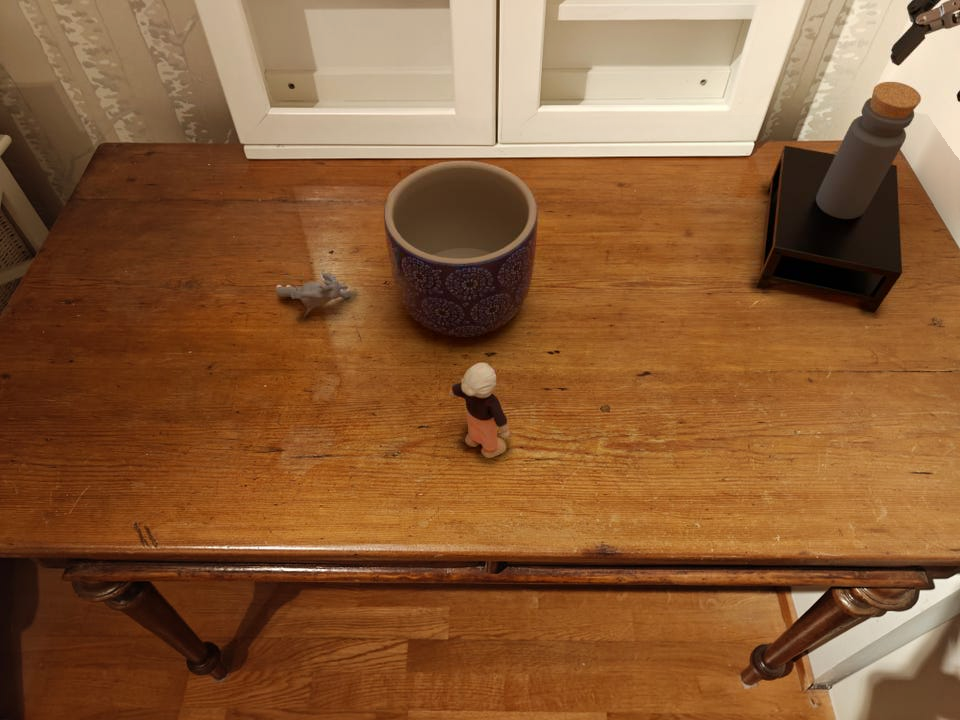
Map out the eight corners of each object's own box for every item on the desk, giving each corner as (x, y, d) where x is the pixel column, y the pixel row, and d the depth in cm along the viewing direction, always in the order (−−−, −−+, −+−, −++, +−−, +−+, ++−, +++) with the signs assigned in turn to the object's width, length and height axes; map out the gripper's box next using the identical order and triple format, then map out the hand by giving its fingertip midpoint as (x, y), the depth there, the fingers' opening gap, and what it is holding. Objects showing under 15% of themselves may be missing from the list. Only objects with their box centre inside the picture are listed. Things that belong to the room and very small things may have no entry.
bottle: (816, 215, 85) (870, 105, 72) (814, 185, 88) (866, 74, 76) (867, 223, 84) (931, 113, 72) (863, 192, 87) (923, 81, 75)
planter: (534, 354, 81) (543, 263, 69) (392, 355, 81) (376, 265, 69) (528, 252, 91) (534, 158, 79) (401, 253, 91) (388, 159, 79)
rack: (872, 206, 96) (897, 165, 90) (874, 313, 84) (902, 273, 79) (767, 187, 98) (784, 145, 93) (755, 287, 87) (774, 247, 81)
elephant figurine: (313, 268, 90) (366, 270, 85) (312, 314, 91) (366, 319, 86) (250, 266, 81) (306, 269, 77) (250, 317, 82) (306, 323, 77)
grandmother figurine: (521, 441, 74) (527, 372, 64) (504, 469, 72) (506, 402, 62) (460, 410, 77) (455, 339, 66) (441, 437, 75) (433, 367, 64)
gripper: (997, -110, 70) (866, 33, 76) (1138, -55, 63) (982, 98, 68) (999, -64, 76) (878, 65, 82) (1129, -10, 68) (986, 128, 74)
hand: (926, 80), depth 75 cm, fingers open, 8 cm apart
